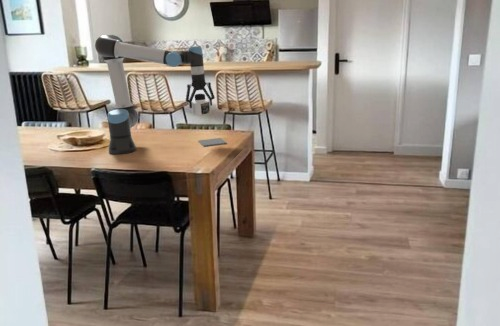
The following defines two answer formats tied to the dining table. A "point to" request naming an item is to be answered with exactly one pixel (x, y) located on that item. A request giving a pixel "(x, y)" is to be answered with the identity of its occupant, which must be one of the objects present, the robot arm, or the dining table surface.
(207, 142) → the slate coaster
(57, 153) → the dining table surface
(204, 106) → the medicine bottle
